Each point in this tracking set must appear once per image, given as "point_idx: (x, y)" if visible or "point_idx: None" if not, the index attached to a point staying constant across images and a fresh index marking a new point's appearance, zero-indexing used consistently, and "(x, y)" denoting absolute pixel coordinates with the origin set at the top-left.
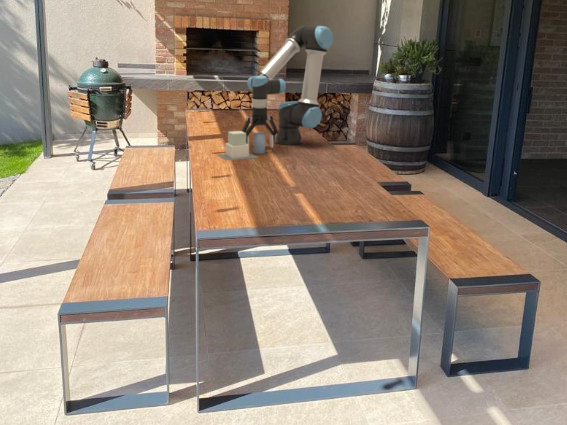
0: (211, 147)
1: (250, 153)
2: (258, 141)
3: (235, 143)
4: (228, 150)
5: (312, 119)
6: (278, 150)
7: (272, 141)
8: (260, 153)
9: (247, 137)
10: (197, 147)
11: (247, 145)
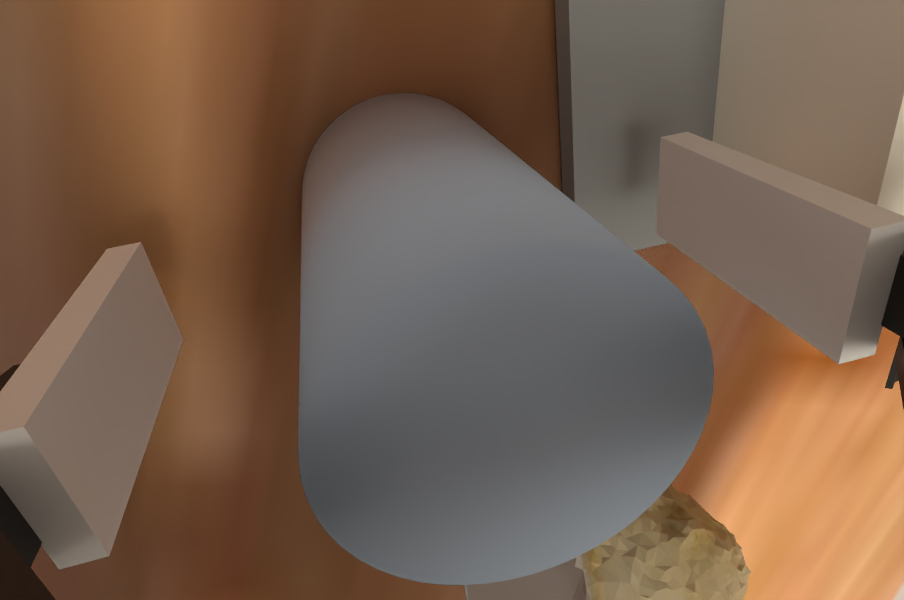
0: (790, 566)
1: (585, 143)
2: (531, 173)
3: None
4: None
5: None
6: None
7: (76, 312)
8: (416, 97)
9: (895, 223)
10: (890, 562)
11: None
